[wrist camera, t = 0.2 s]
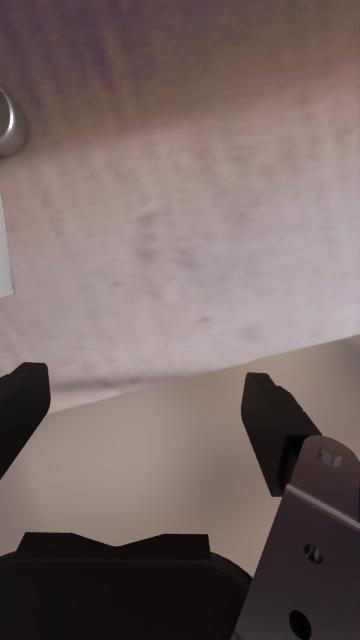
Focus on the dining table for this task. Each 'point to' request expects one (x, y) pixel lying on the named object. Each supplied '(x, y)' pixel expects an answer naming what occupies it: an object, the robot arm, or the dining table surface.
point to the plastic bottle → (11, 125)
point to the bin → (4, 261)
